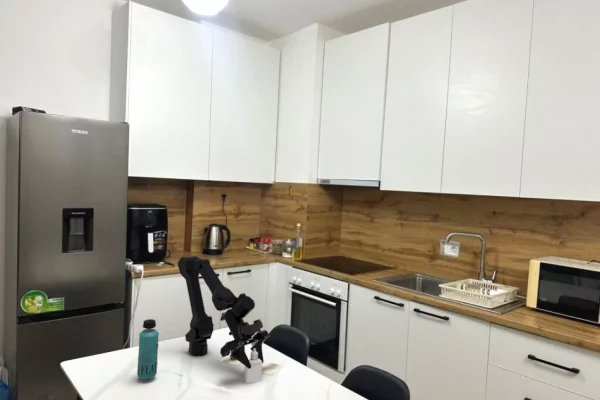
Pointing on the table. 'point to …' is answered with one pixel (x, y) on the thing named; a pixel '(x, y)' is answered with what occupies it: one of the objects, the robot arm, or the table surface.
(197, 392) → the table surface
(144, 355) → the beverage bottle
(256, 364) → the eye dropper bottle
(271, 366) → the board
